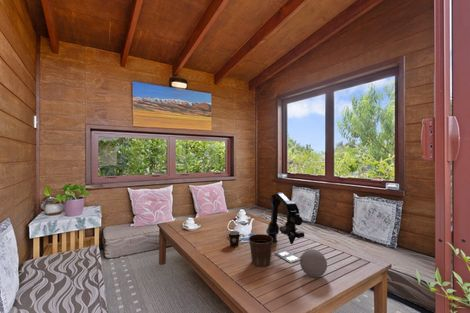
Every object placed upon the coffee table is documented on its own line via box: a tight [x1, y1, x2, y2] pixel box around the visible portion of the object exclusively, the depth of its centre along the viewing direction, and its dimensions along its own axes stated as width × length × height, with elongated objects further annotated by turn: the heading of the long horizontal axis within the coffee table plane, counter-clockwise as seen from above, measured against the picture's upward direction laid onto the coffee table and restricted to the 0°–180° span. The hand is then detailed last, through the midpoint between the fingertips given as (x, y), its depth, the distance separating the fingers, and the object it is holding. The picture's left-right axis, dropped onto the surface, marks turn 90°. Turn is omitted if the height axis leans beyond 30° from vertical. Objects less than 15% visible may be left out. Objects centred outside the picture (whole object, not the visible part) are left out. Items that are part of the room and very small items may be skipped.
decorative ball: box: [299, 248, 328, 278], centre depth 135 cm, size 15×15×15 cm
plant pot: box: [248, 233, 273, 268], centre depth 152 cm, size 16×16×16 cm
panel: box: [274, 249, 301, 264], centre depth 159 cm, size 10×16×1 cm, turn 30°
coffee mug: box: [228, 230, 245, 248], centre depth 180 cm, size 12×9×10 cm
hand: (291, 244), depth 156 cm, fingers closed
